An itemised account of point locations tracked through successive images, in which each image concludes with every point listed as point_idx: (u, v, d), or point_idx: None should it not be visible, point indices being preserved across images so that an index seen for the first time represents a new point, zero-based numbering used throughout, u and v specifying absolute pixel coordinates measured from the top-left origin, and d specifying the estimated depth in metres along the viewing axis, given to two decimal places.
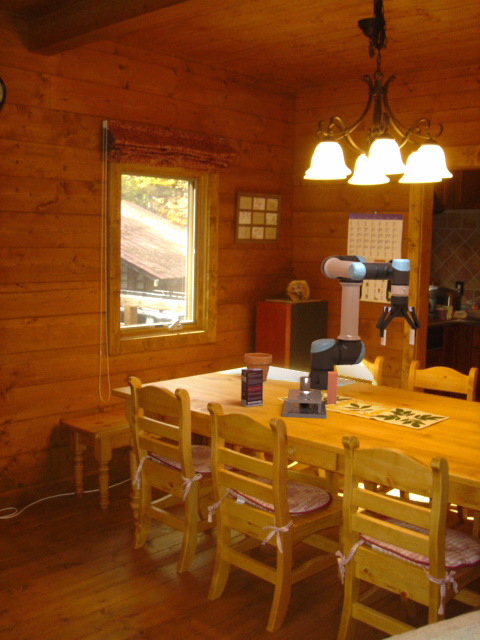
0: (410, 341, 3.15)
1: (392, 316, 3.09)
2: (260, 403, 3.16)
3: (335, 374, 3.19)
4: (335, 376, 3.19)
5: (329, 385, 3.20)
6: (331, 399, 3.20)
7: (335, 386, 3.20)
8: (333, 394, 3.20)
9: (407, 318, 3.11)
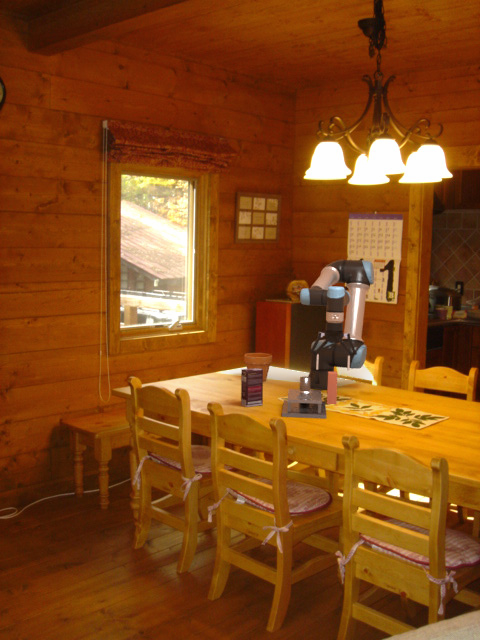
0: (347, 367, 3.20)
1: (325, 342, 3.18)
2: (260, 403, 3.16)
3: (335, 374, 3.19)
4: (335, 376, 3.19)
5: (329, 385, 3.20)
6: (331, 399, 3.20)
7: (335, 386, 3.20)
8: (333, 394, 3.20)
9: (342, 344, 3.18)
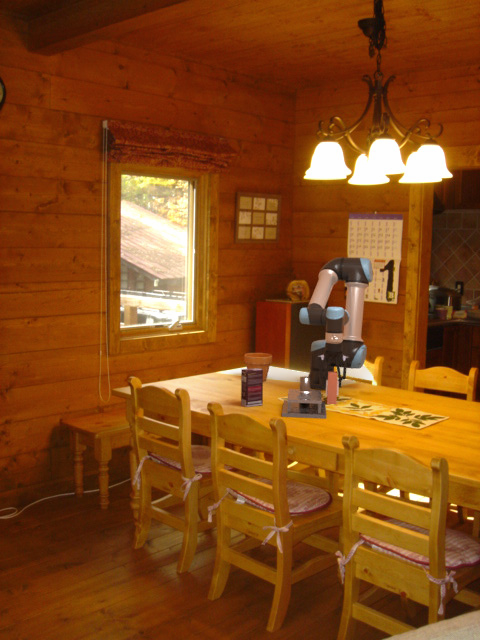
0: None
1: (327, 364, 3.19)
2: (260, 403, 3.16)
3: (335, 374, 3.19)
4: (335, 376, 3.19)
5: (329, 385, 3.20)
6: (331, 399, 3.20)
7: (335, 386, 3.20)
8: (333, 394, 3.20)
9: (336, 366, 3.19)
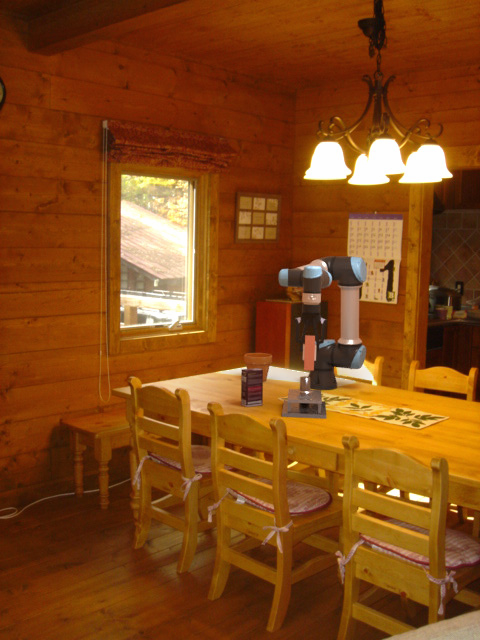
0: None
1: (304, 327, 2.99)
2: (260, 403, 3.16)
3: (312, 337, 2.99)
4: (312, 339, 2.99)
5: (306, 349, 3.00)
6: (308, 365, 3.00)
7: (312, 350, 2.99)
8: (310, 359, 3.00)
9: (314, 329, 2.99)
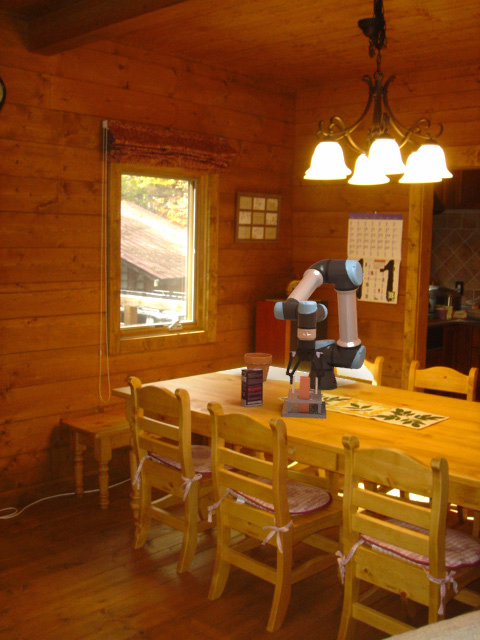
0: (315, 390, 3.01)
1: (297, 361, 2.98)
2: (260, 403, 3.16)
3: (307, 379, 2.98)
4: (307, 381, 2.99)
5: (301, 391, 2.99)
6: (303, 406, 3.00)
7: (307, 392, 2.99)
8: None
9: (312, 364, 2.98)
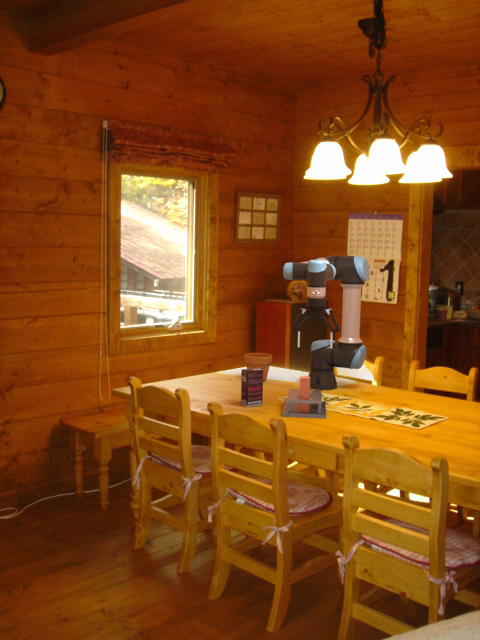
0: (330, 344, 3.05)
1: (306, 318, 3.03)
2: (260, 403, 3.16)
3: (307, 379, 2.98)
4: (307, 381, 2.99)
5: (301, 391, 2.99)
6: (303, 406, 3.00)
7: (307, 392, 2.99)
8: None
9: (324, 321, 3.03)
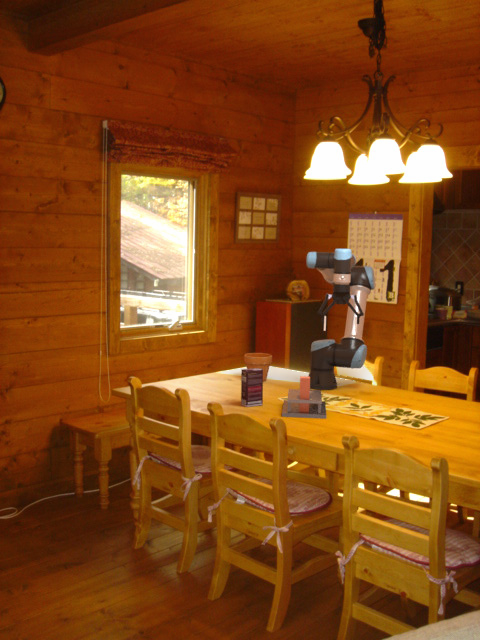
0: (354, 328, 3.25)
1: (332, 303, 3.23)
2: (260, 403, 3.16)
3: (307, 379, 2.98)
4: (307, 381, 2.99)
5: (301, 391, 2.99)
6: (303, 406, 3.00)
7: (307, 392, 2.99)
8: None
9: (349, 306, 3.22)
